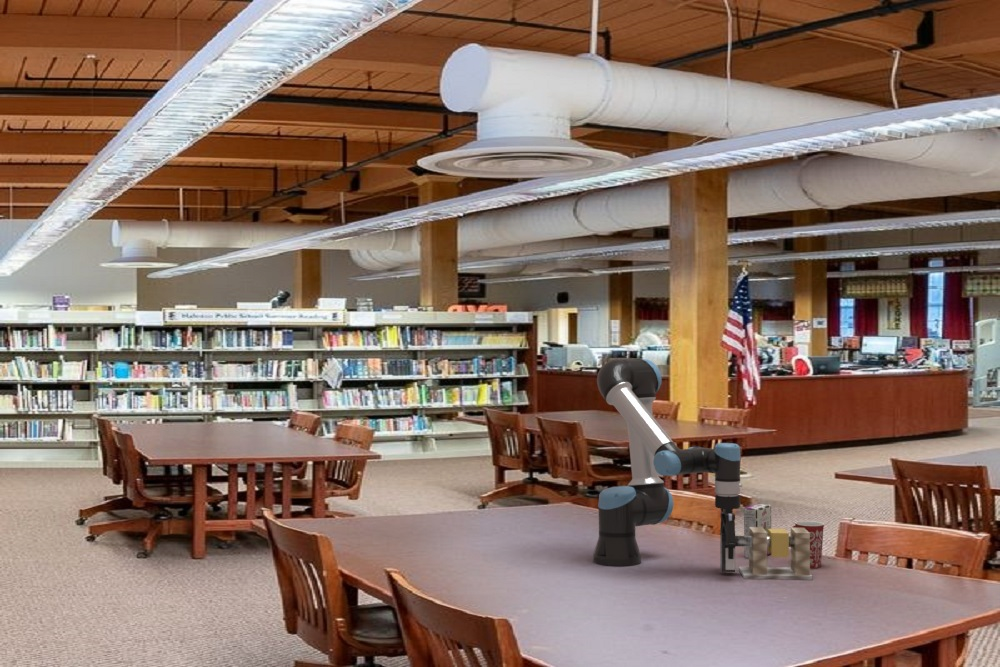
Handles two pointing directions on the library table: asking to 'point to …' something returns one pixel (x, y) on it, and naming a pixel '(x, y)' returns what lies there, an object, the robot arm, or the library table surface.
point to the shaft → (742, 542)
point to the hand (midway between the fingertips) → (727, 565)
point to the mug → (813, 540)
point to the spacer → (779, 543)
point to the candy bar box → (757, 520)
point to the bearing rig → (761, 571)
